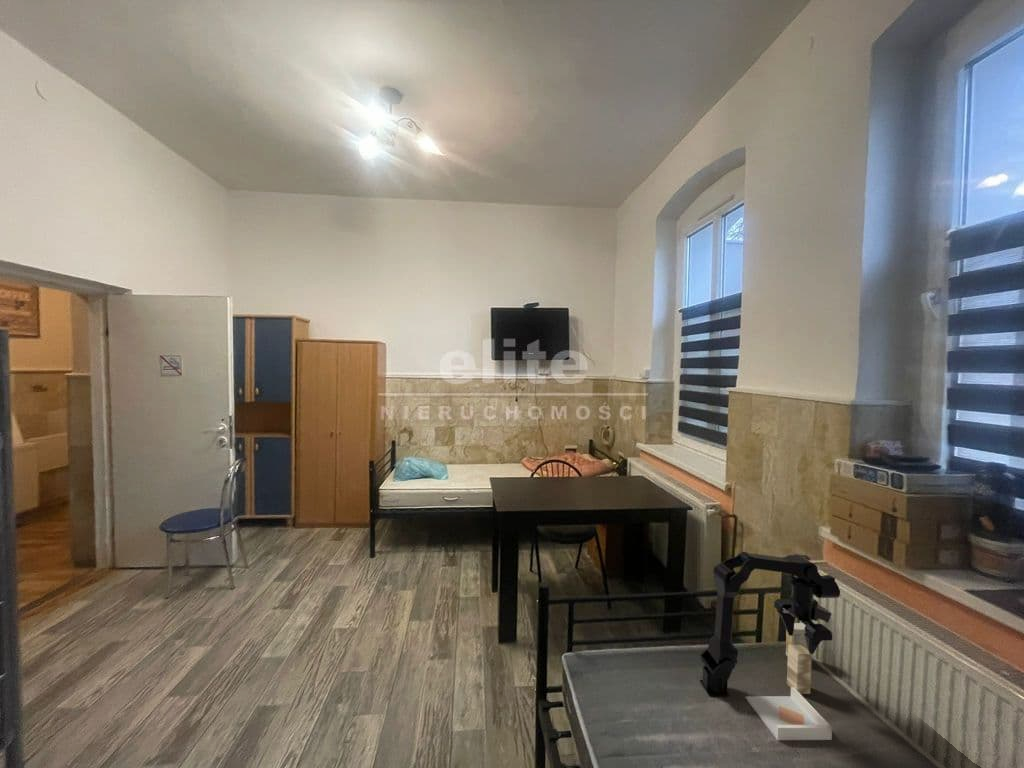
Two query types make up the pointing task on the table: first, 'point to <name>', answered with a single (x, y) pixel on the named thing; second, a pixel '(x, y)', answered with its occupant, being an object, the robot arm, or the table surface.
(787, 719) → the tray
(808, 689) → the birch block
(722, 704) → the table surface
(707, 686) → the robot arm
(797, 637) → the skincare box
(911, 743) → the table surface
